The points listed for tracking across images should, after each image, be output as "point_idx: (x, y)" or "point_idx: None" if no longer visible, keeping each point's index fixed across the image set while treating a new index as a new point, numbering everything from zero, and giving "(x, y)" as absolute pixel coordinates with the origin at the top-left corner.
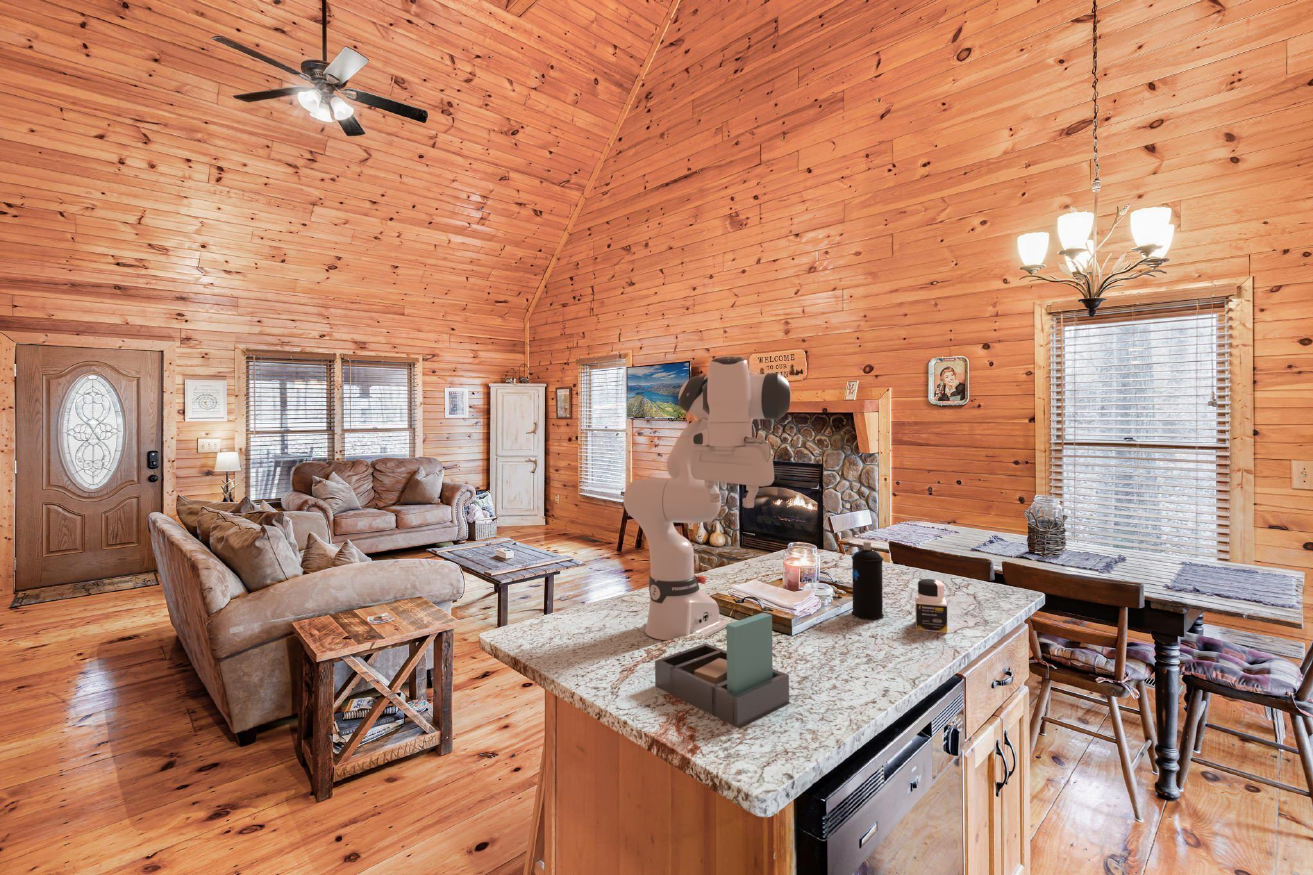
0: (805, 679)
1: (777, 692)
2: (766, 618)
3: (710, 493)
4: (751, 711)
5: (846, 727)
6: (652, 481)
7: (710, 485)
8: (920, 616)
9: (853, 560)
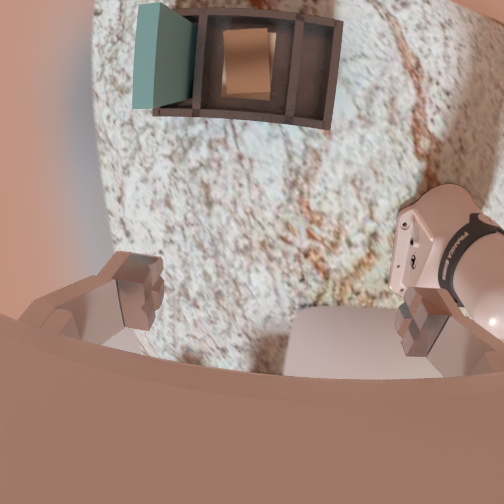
0: (205, 198)
1: None
2: (133, 91)
3: (454, 318)
4: None
5: (105, 126)
6: None
7: (477, 365)
8: None
9: None
